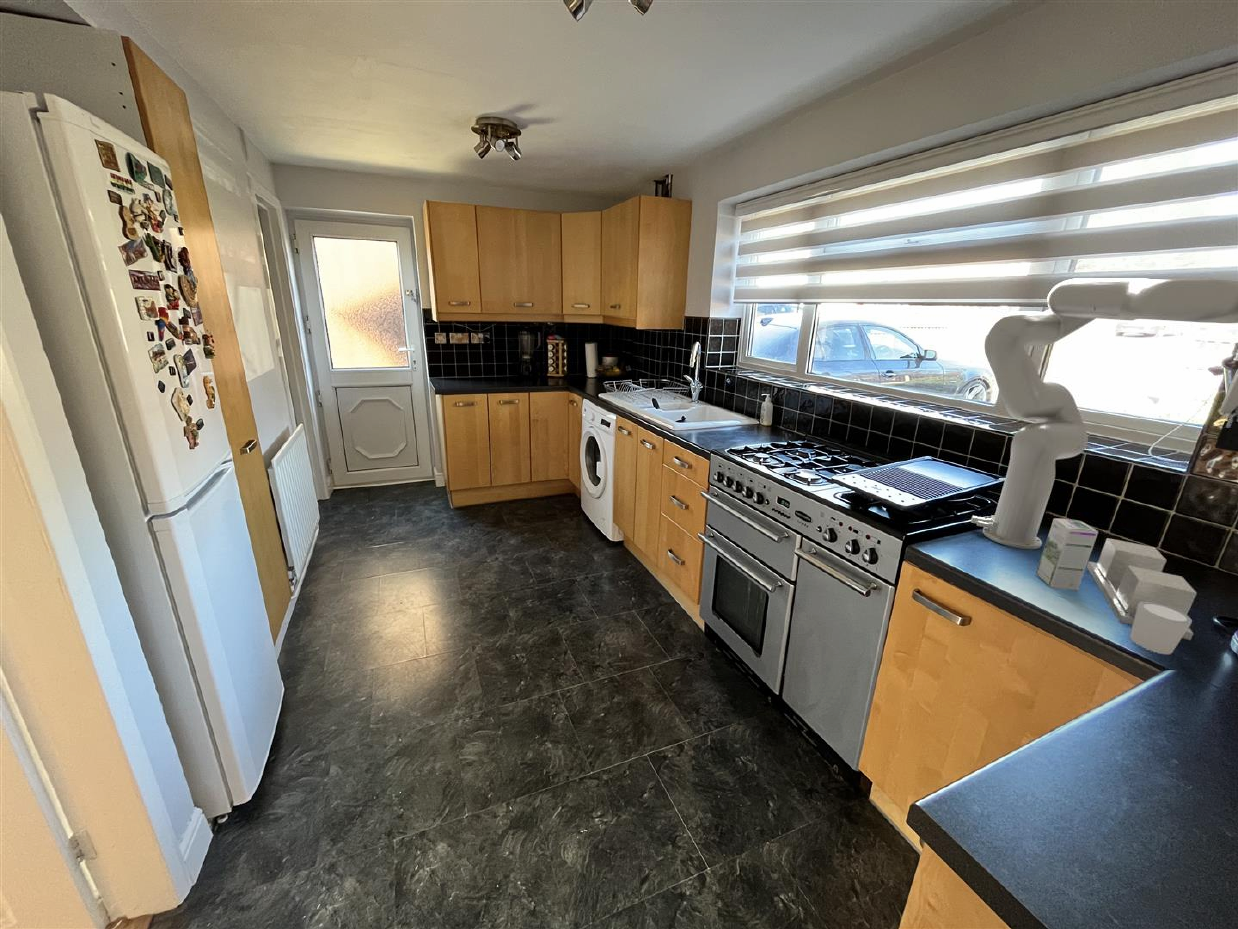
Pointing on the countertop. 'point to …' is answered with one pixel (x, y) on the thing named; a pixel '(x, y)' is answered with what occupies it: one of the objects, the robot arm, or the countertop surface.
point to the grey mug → (1158, 627)
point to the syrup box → (1066, 553)
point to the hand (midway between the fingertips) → (1228, 445)
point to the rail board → (1138, 580)
